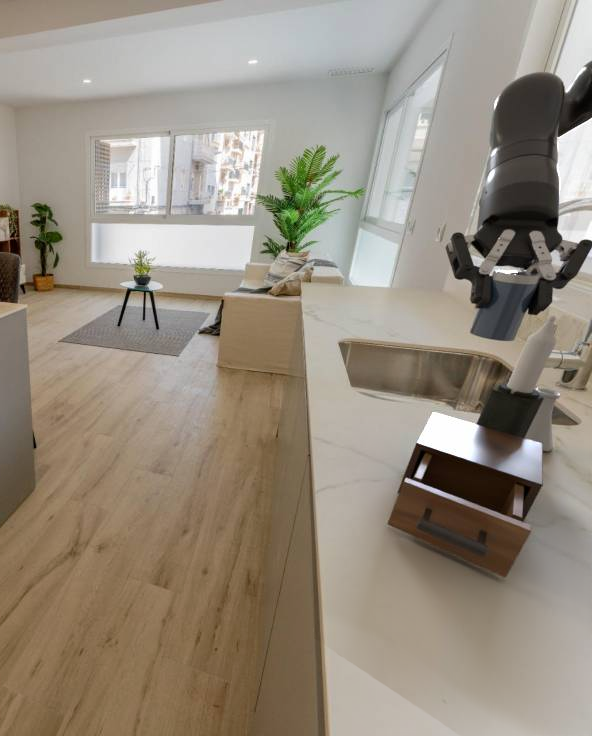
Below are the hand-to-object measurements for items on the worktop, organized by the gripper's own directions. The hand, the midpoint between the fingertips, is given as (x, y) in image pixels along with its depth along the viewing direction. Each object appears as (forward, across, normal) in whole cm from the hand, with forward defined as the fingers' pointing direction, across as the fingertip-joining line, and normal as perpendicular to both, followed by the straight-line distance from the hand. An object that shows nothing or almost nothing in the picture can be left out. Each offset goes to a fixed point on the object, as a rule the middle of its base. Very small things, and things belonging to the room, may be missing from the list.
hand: (509, 307), depth 51 cm
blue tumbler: (+1, 0, +4) cm, 5 cm away
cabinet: (+18, +4, +22) cm, 28 cm away
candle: (+9, +9, +31) cm, 33 cm away
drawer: (+26, 0, +12) cm, 29 cm away
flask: (0, +18, +40) cm, 43 cm away
